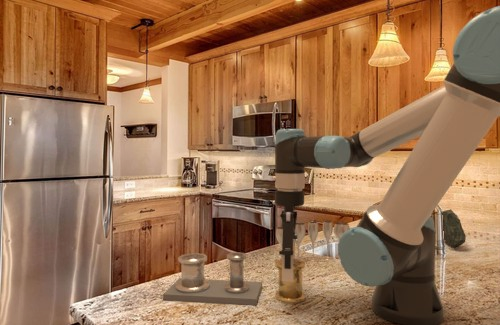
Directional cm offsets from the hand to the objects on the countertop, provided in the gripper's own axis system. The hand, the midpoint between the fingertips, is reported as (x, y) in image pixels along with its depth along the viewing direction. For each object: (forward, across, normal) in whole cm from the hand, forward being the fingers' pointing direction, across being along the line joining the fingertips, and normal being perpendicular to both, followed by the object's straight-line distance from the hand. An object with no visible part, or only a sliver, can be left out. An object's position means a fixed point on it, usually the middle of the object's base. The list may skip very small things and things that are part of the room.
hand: (288, 271), depth 91 cm
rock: (+7, -60, +62) cm, 86 cm away
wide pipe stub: (+5, 0, -26) cm, 26 cm away
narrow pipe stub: (+5, 0, -14) cm, 14 cm away
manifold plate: (+7, 0, -20) cm, 21 cm away
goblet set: (+7, -34, +7) cm, 36 cm away
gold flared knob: (+7, 0, 0) cm, 7 cm away
